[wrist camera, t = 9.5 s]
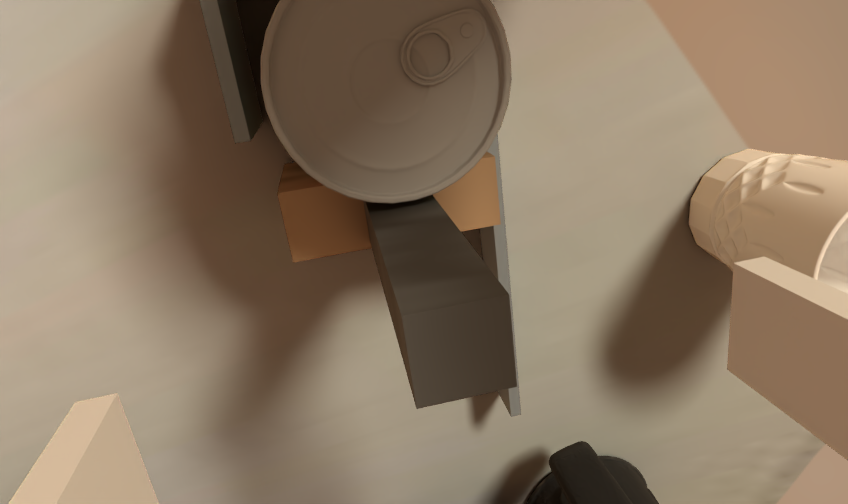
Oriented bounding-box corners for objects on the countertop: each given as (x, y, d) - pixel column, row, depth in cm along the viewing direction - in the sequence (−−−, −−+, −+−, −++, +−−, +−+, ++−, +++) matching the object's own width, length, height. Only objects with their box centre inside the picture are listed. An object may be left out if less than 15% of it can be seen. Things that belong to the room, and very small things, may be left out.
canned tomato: (341, 178, 30) (354, 249, 20) (244, 40, 27) (201, 38, 17) (470, 93, 30) (552, 120, 19) (387, -57, 27) (432, -118, 16)
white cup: (684, 145, 33) (831, 185, 23) (808, 132, 34) (995, 166, 24) (672, 273, 35) (799, 355, 26) (787, 258, 36) (948, 331, 27)
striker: (297, 221, 30) (274, 451, 13) (284, 164, 29) (241, 334, 12) (466, 191, 31) (648, 368, 14) (461, 134, 30) (650, 254, 13)
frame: (317, 426, 35) (317, 500, 29) (200, -60, 25) (167, -90, 20) (509, 384, 36) (545, 447, 30) (466, -91, 27) (506, -127, 21)
